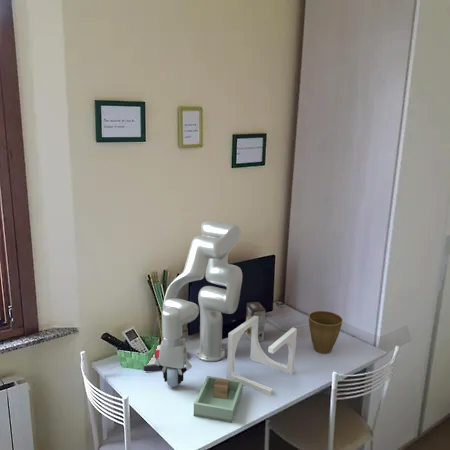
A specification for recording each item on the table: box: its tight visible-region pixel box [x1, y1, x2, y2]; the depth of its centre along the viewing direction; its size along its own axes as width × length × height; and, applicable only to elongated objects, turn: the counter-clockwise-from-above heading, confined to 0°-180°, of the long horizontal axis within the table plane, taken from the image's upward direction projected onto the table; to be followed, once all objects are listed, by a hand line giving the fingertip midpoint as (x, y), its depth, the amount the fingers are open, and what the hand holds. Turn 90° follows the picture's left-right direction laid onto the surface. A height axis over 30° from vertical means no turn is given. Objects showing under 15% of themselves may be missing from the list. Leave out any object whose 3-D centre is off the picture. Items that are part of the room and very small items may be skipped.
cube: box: [214, 377, 230, 399], centre depth 176 cm, size 5×5×5 cm
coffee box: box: [244, 301, 267, 342], centre depth 221 cm, size 9×6×16 cm
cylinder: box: [166, 367, 180, 388], centre depth 181 cm, size 5×5×7 cm
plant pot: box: [308, 310, 344, 355], centre depth 211 cm, size 15×15×16 cm
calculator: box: [143, 344, 162, 372], centre depth 200 cm, size 11×4×15 cm
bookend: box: [226, 315, 298, 397], centre depth 190 cm, size 20×20×20 cm
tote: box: [193, 375, 244, 424], centre depth 172 cm, size 18×14×5 cm
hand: (173, 380), depth 182 cm, fingers closed on cylinder, 4 cm apart
